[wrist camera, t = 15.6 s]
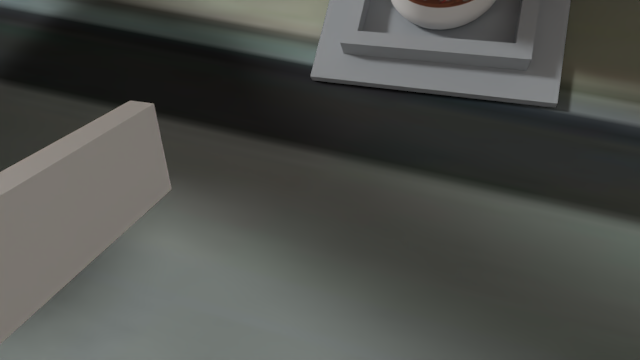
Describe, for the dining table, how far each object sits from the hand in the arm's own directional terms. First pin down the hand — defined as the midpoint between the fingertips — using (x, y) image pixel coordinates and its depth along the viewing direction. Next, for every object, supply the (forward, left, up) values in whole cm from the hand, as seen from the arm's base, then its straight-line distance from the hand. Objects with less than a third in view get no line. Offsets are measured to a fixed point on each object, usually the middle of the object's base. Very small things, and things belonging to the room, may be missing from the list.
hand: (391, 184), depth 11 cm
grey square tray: (-1, +19, -18) cm, 26 cm away
